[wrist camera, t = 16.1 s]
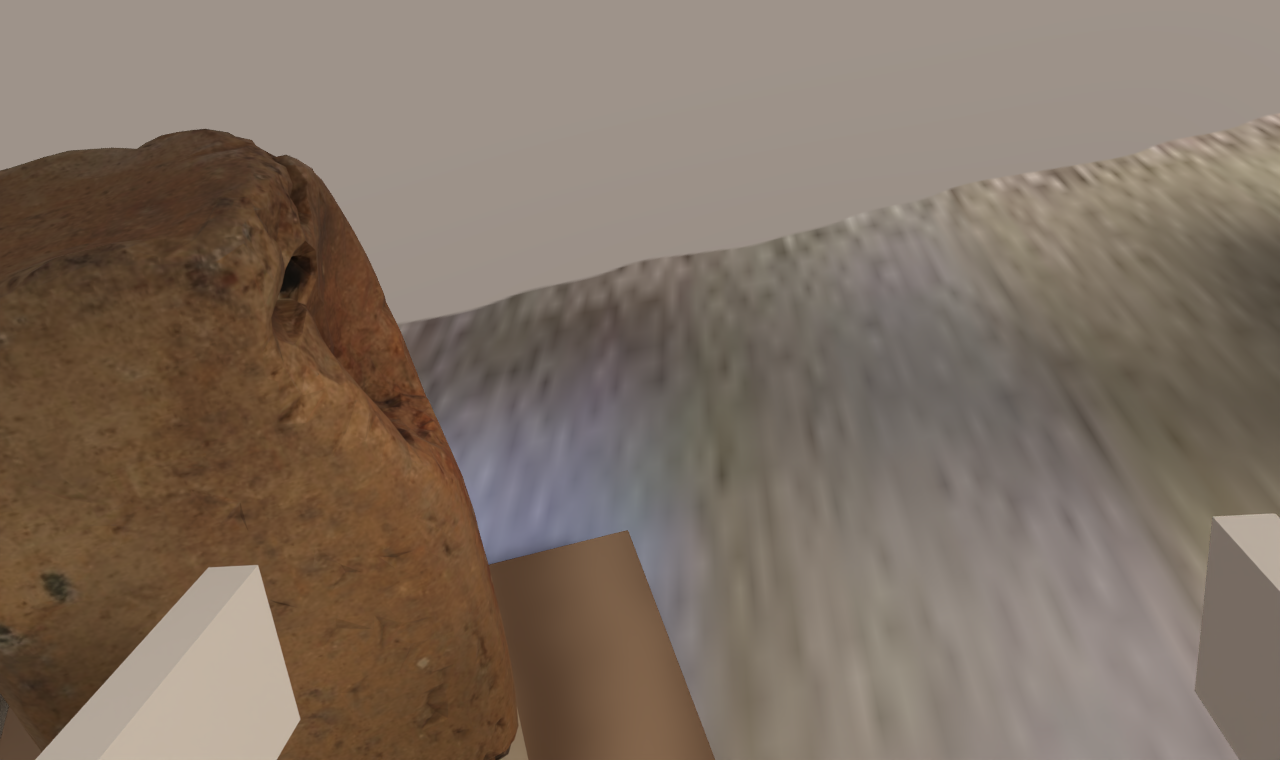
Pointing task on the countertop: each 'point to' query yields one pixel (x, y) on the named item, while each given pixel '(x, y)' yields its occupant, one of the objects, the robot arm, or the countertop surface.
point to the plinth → (573, 661)
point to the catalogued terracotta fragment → (229, 450)
